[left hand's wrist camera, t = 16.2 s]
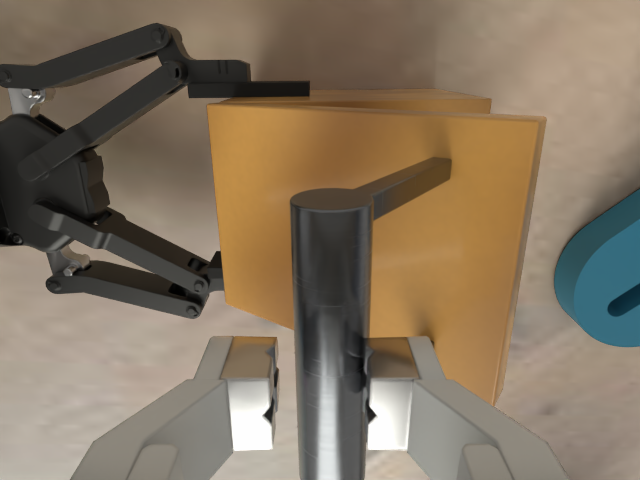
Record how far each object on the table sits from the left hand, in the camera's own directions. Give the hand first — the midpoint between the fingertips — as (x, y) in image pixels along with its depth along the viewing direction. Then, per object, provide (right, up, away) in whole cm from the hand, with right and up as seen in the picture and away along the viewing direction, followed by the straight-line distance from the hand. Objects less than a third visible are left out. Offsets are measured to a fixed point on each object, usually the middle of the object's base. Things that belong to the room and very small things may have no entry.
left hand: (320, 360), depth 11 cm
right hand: (0, +6, +17) cm, 18 cm away
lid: (+1, +3, +8) cm, 9 cm away
